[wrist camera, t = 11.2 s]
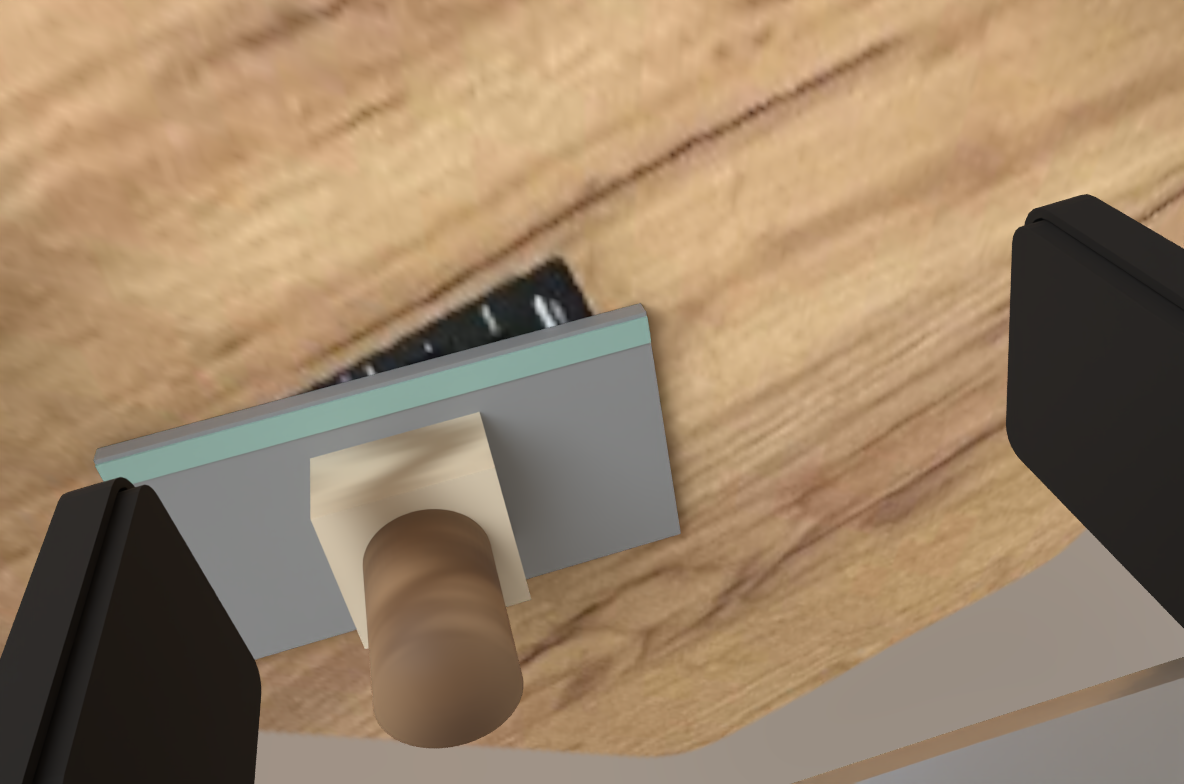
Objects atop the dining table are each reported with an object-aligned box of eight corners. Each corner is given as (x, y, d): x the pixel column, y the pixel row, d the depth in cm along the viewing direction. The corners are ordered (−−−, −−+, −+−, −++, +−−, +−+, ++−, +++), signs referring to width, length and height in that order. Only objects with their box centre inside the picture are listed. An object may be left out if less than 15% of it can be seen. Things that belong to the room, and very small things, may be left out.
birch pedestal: (479, 411, 41) (494, 467, 38) (514, 539, 45) (531, 599, 42) (309, 458, 41) (310, 519, 37) (360, 583, 44) (365, 649, 41)
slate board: (640, 303, 42) (646, 312, 41) (675, 523, 48) (681, 534, 47) (96, 449, 39) (92, 462, 38) (211, 659, 46) (210, 674, 45)
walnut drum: (475, 493, 38) (506, 621, 33) (503, 588, 41) (536, 721, 35) (346, 530, 38) (353, 667, 32) (383, 623, 41) (396, 765, 35)
